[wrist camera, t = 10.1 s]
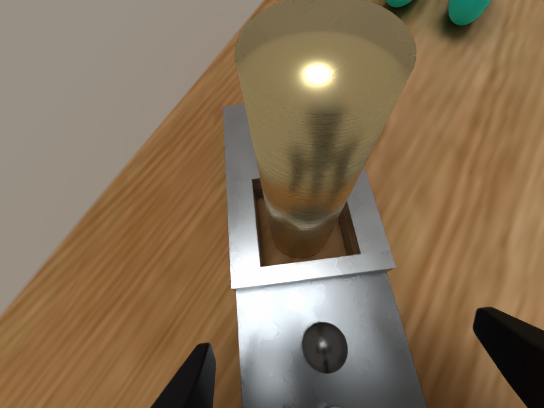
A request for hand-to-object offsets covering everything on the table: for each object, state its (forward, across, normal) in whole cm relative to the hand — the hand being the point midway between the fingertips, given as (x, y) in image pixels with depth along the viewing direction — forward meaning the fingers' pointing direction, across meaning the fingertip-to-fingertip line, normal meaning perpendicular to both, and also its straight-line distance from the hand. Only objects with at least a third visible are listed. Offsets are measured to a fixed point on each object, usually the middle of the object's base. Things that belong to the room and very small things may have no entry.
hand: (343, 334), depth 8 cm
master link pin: (+10, 0, +1) cm, 11 cm away
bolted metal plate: (+9, 0, +3) cm, 9 cm away
